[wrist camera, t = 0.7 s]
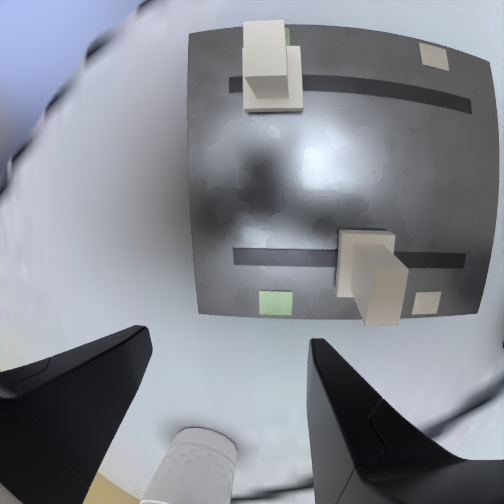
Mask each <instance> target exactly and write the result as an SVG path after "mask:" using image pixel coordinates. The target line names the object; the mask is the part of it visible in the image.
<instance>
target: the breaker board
mask: <svg viewBox="0 0 504 504" xmlns="http://www.w3.org/2000/svg"><path fill="white" fill-rule="evenodd" d="M284 26H285V37H286V46H300V53H301V70H302V90H303V112H298V111H279V112H246V111H245V110H244V109H243V60H242V48H244V47H243V27H234V28H225V29H217V30H209V31H203V32H197V33H191V34H189V44H188V81H187V133H188V172H189V196H190V214H191V231H192V245H193V258H194V270H195V281H196V292H197V302H198V312H199V314H208V315H222V316H239V317H258V318H283V319H362V317H361V314H360V312H359V309H358V307H357V304H356V302H355V300H354V297H337V295H336V292H335V284H336V272H337V259H338V243H339V229H341V230H372V231H390V232H392V233H393V234H394V235H395V244H394V253H393V254H394V255H395V256H396V257H397V258H398V259H399V260H400V261H401V262H402V263H403V264H404V265H405V266H406V267H407V268H408V269H409V271H408V278H407V284H406V290H405V295H404V301H403V306H402V311H401V316H400V318H421V317H438V316H453V315H466V314H477V313H478V310H479V306H480V302H481V299H482V295H483V291H484V287H485V282H486V278H487V273H488V268H489V263H490V258H491V252H492V246H493V240H494V233H495V225H496V216H497V205H498V191H499V132H498V118H497V108H496V99H495V92H494V85H493V79H492V73H491V68H490V63H489V62H488V61H486V60H483V59H481V58H478V57H476V56H473V55H470V54H467V53H464V52H461V51H458V50H455V49H452V48H449V47H446V46H442V45H439V44H435V43H432V42H428V41H424V40H420V39H416V38H411V37H407V36H402V35H397V34H392V33H386V32H380V31H374V30H367V29H359V28H350V27H339V26H326V25H284Z"/></svg>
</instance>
